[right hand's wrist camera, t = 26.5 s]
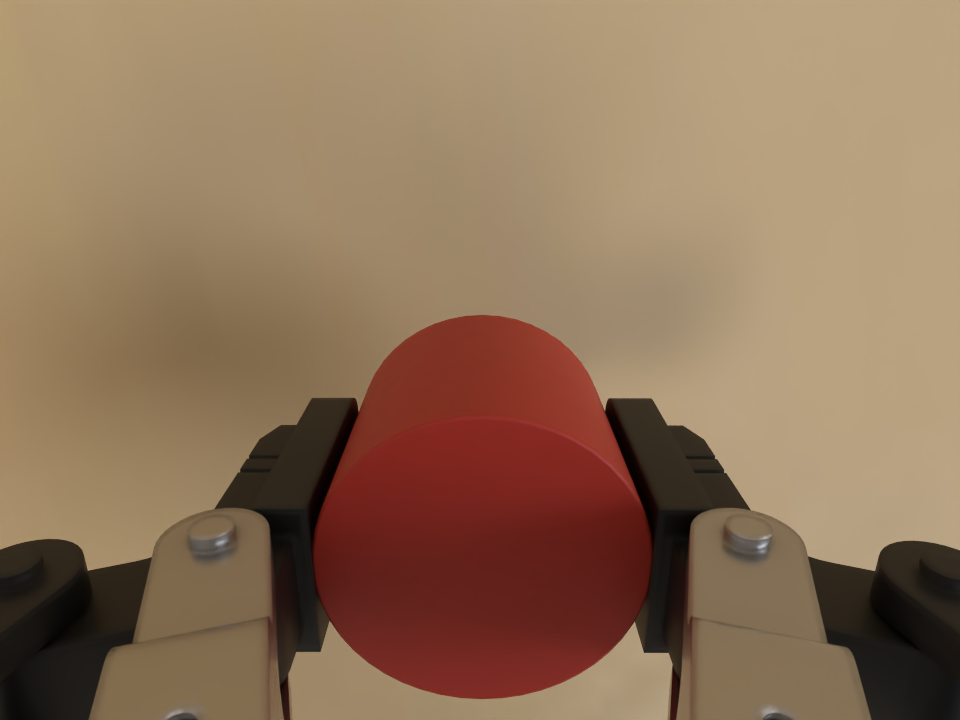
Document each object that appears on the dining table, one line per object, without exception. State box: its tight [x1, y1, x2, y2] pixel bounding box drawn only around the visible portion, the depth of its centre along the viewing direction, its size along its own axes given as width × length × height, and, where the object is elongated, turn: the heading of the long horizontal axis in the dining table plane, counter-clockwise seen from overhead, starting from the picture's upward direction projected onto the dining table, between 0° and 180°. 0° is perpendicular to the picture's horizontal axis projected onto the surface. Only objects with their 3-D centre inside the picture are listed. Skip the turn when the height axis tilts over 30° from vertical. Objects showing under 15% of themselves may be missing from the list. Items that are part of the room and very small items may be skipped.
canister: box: [312, 315, 652, 699], centre depth 11 cm, size 4×4×4 cm
